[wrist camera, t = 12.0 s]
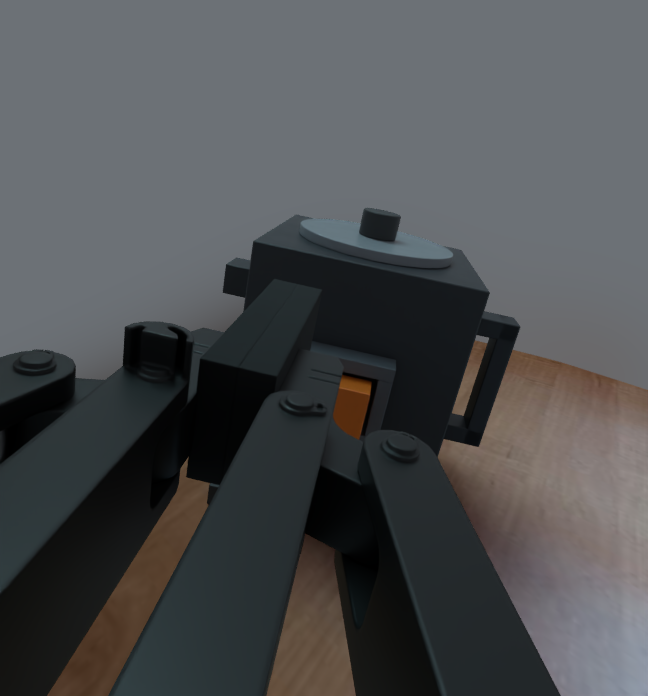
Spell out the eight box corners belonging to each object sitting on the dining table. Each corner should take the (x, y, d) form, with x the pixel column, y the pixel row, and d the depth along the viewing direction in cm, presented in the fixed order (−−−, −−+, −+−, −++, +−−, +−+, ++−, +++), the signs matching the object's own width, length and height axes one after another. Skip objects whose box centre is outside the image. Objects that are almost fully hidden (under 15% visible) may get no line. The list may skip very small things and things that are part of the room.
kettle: (166, 505, 34) (197, 190, 26) (234, 401, 48) (266, 177, 40) (469, 580, 33) (587, 274, 25) (447, 451, 47) (519, 230, 39)
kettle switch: (304, 430, 29) (314, 381, 28) (309, 415, 30) (319, 368, 29) (358, 443, 29) (370, 394, 28) (360, 427, 30) (372, 380, 29)
